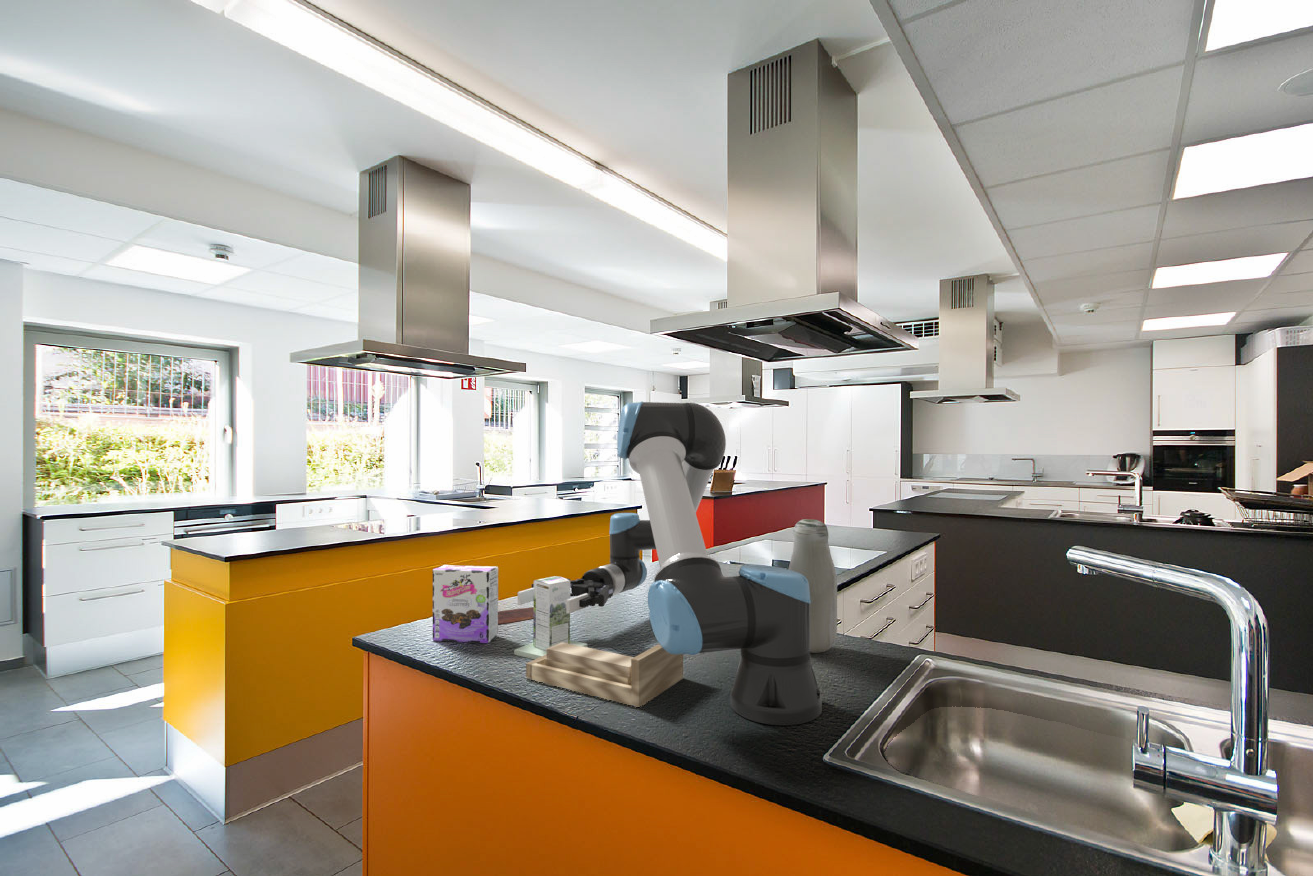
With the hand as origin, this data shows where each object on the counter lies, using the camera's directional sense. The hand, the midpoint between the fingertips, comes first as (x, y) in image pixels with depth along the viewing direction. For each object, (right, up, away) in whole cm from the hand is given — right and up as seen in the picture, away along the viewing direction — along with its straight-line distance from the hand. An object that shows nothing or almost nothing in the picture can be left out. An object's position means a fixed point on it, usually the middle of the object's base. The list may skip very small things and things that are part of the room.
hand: (542, 602), depth 131 cm
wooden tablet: (-10, -12, +31) cm, 35 cm away
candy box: (-20, -12, +12) cm, 26 cm away
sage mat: (+2, -11, +2) cm, 11 cm away
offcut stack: (+13, -11, -17) cm, 24 cm away
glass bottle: (+58, -11, +2) cm, 59 cm away
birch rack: (+14, -11, -14) cm, 22 cm away
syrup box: (+2, -10, +2) cm, 11 cm away
